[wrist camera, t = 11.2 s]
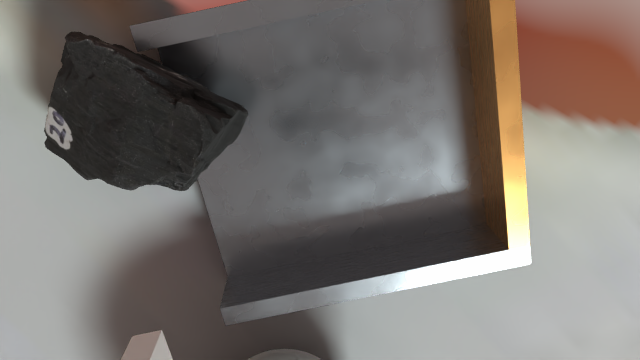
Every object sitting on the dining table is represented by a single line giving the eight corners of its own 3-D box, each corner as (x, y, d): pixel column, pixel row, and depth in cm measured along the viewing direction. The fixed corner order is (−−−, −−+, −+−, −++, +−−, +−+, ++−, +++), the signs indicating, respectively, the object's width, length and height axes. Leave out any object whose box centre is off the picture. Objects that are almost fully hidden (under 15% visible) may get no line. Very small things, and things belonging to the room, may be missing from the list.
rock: (267, 61, 20) (-18, 45, 17) (256, 230, 23) (12, 244, 20) (229, 30, 30) (42, 17, 26) (225, 153, 32) (56, 154, 29)
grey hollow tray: (235, 280, 33) (225, 325, 29) (157, 22, 28) (129, 25, 23) (497, 226, 33) (531, 264, 28) (473, -46, 27) (511, -57, 23)
